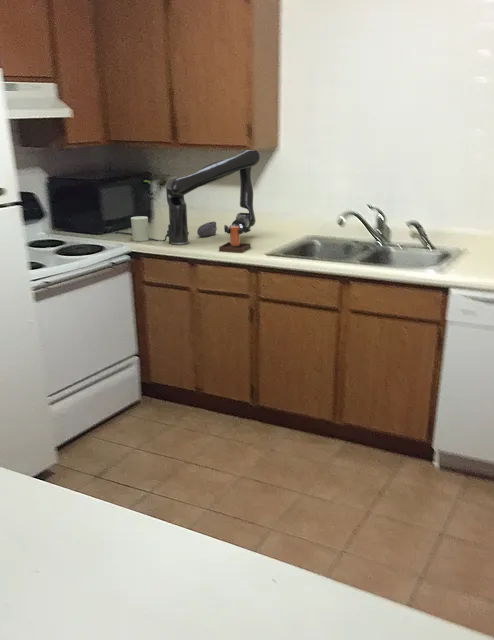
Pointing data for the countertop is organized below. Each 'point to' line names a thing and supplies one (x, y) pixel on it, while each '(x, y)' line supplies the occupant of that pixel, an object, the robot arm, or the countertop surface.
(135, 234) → the can
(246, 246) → the stand
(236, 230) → the orange block
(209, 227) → the perforated stone tool
